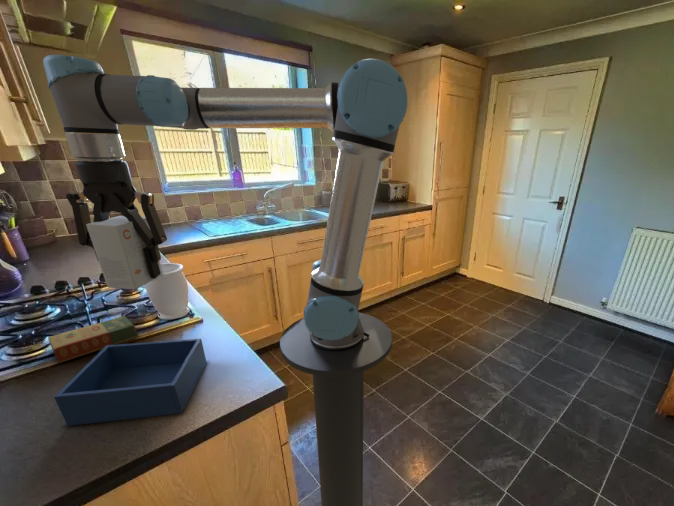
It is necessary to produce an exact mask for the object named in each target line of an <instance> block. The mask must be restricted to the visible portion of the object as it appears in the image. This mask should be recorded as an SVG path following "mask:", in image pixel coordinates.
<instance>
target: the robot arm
mask: <svg viewBox="0 0 674 506" xmlns="http://www.w3.org/2000/svg"><path fill="white" fill-rule="evenodd" d="M42 64H43V68H44V72H45V75H46V79H47V87H48V89H49V91H50V93H51V96H52V99H53V102H54V104H55V107H56V110H57V113H58V115H59V117H60V118H59V119H60V121H61V123H62V126H63V132H64V135H65V138H66V142H67V145H68V148H69V151H70V154H71V157H72V158H74V159H77V160H76V161H75V162H74V166H75V168H76V173H77V176H78V179H79V181H80V183H82V186H83V187H82V191H73V192H70V193H66V195H65V198H66V199H67V201H68V202H69V204H70V206H71V209H72V213H73V218H74V223H75V228H76V229H75V230H76V233H77V238H78V243H79V244H80V246H83V247H85V246H87V247H90V248H92V249H93V251H94V255H95V257H96V260H97V262H98V263H99V261H98V258H97V255H96V252H95V249H94V246H93V243H92V241H91V238H90V235H89V232H88V229H87V226H86V224H89V223H93V222H102V221H104V220H107V219H109V218H110V215H111V212H116V213H121V216H124V217H126V218H127V219H128V221H129V222H132V223H133V227H134V229H135V230H136V232H137V233H138V235H139V236H140V237H141V239H142V240H143V242H144V243H145V244H146V247H145V248H143V251H144V255H145V258H146V262H147V266H148V269H149V273H150V276H151V279H154V278H156V277H157V276H159V275H160V274H161V273H160V269H159V265H158V261H160V262H161V260H162V255H161V252H160V248H159V246H160V245H162V244H164V243H165V242H167V240H168V237H167V235H166V232H165V229H164V227H163V224H162V222H161V219H160V216H159V214H158V211H157V209H156V207H155V195H154V193H153V192H141V191H137V189H136V188H135V186H134V185H133V180H132V175H131V171H130V168H129V163H128V162H127V161H126V160H123V159H125V158H126V154H125V149H124V145H123V141H122V139H121V138H122V137H121V135H120V131H119V126H118V125H129V126H132V125H133V126H145V127H146V126H148V127H161V128H173V129H175V128H176V129H183V130H186V131H187V130H189V131H191V130H192V131H196V130H201V129H202V130H203V129H205V130H206V129H208V130H209V129H328V130H329V131H331V133H333V136H332V141H333V143H334V144H335V146H336V147H337V149H338V155H337V156H338V157H337V162H336V169H335V174H334V180H333V185H332V192H331V198H330V203H329V210H328V216H327V223H326V227H325V228H326V229H325V236H324V241H323V247H322V253H321V258H320V259H318V260H316V261H314V262H313V263H312V270H311V276H310V283H309V288H308V295H307V300H306V305H305V307H304V308H303V318H304V322H305V325H306V327H307V328H308V330H310V340H311V343H312V344H313V345H314V346H316V347H317V348H319V349H322V350H326V351H344V350H348V349H351V348H354V347H356V346H357V345H359V344H360V343H361V342H362V340H363V338H364V335H365V336H367V337H369V334H367V333H365V332H364V329H363V326H362V323H361V320H360V318H359V313H358V312H359V308H360V304H361V303H360V302H361V299H362V294H363V290H364V284H365V281H364V279H363V277H362V276H361V274H360V271H361V267H362V263H363V262H362V261H363V257H364V253H365V248H366V243H367V240H368V234H369V230H370V225H371V220H372V216H373V215H372V214H373V211H374V207H375V202H376V197H377V193H378V188H379V183H380V180H381V179H380V178H381V174H382V169H383V165H384V162H385V161H386V160H387V159H389V158H390V157H392V156H393V155H394V152H395V149H396V148H395V147H396V143H397V138H398V135H399V130H400V126H401V124H402V122H403V121H404V118H405V117H406V115H407V110H408V102H409V101H408V91H407V90H408V89H407V86H406V83H405V81H404V79H403V77H402V75H401V74H400V72H399V71H398V70H397V69H396V68H395V67H394V66H393V65H391V64H390V63H389V62H387V61H384V60H382V59H379V58H365V59H361V60H359V61H357V62H355V63H353V64H352V65H351V66H350V67H349V68H348V69H347V70H346V71H345V73H344V74H343V76H342V77H341V80H340V82H339V81H337V82H333V81H332V82H329V84H328V85H327V86H326V87H315V88H314V87H183V86H182V87H181V86H180V85H179V84H178V82H177V81H176V80H174V79H173V78H171V77H162V76H156V75H153V74H152V75H150V74H148V75H126V74H124V75H123V74H109V73H108V74H107V73H105V72H104V70H103V67H102V65H101V64H100V63H98V62H97V61H95V60H93V59H90V58H86V57H81V56H73V55H65V54H48V55H46V56H45V57H44V58H43V60H42ZM136 199H137V202H138V203H139V204H140V206H141V210H142V213H143V215H144V217H146V220H147V222H148V225H149V227H150V229H149V227H148V226H147V224H146V223H145V221H144V220H143V219H142V217H143V216H141V214H140V212H139V209H138V208H137V206H136V205H135V200H136ZM88 202H91V203H92V204H93V209H92V215H93V221H91V220H92V219H91V214H90V210H89V205H88Z"/></svg>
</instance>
